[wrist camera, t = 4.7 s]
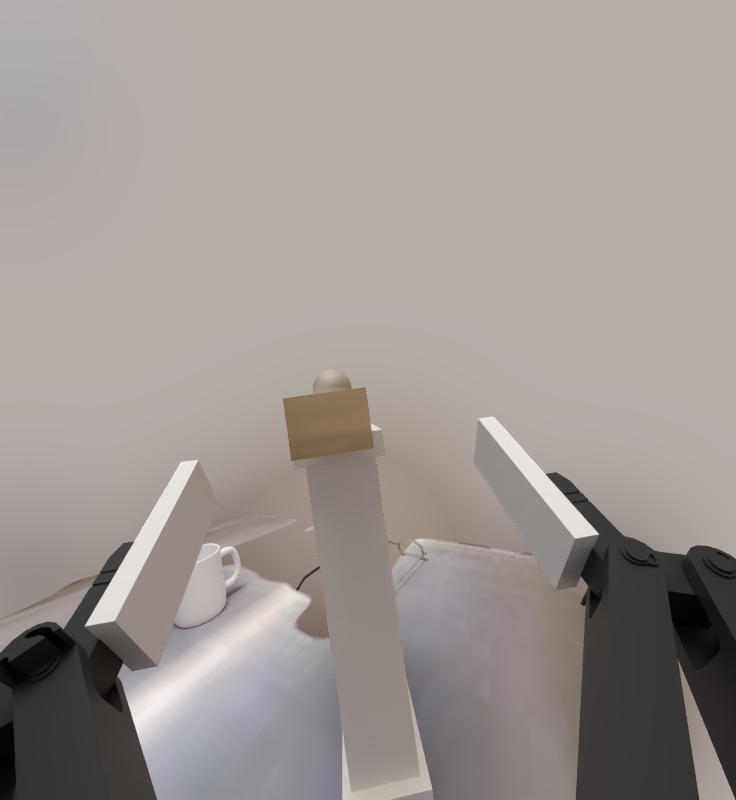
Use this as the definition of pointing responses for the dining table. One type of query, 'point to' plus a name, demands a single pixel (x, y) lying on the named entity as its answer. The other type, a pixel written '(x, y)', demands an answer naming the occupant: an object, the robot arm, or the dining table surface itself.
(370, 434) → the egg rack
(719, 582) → the robot arm
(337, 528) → the pedestal
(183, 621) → the cup
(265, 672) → the dining table surface
